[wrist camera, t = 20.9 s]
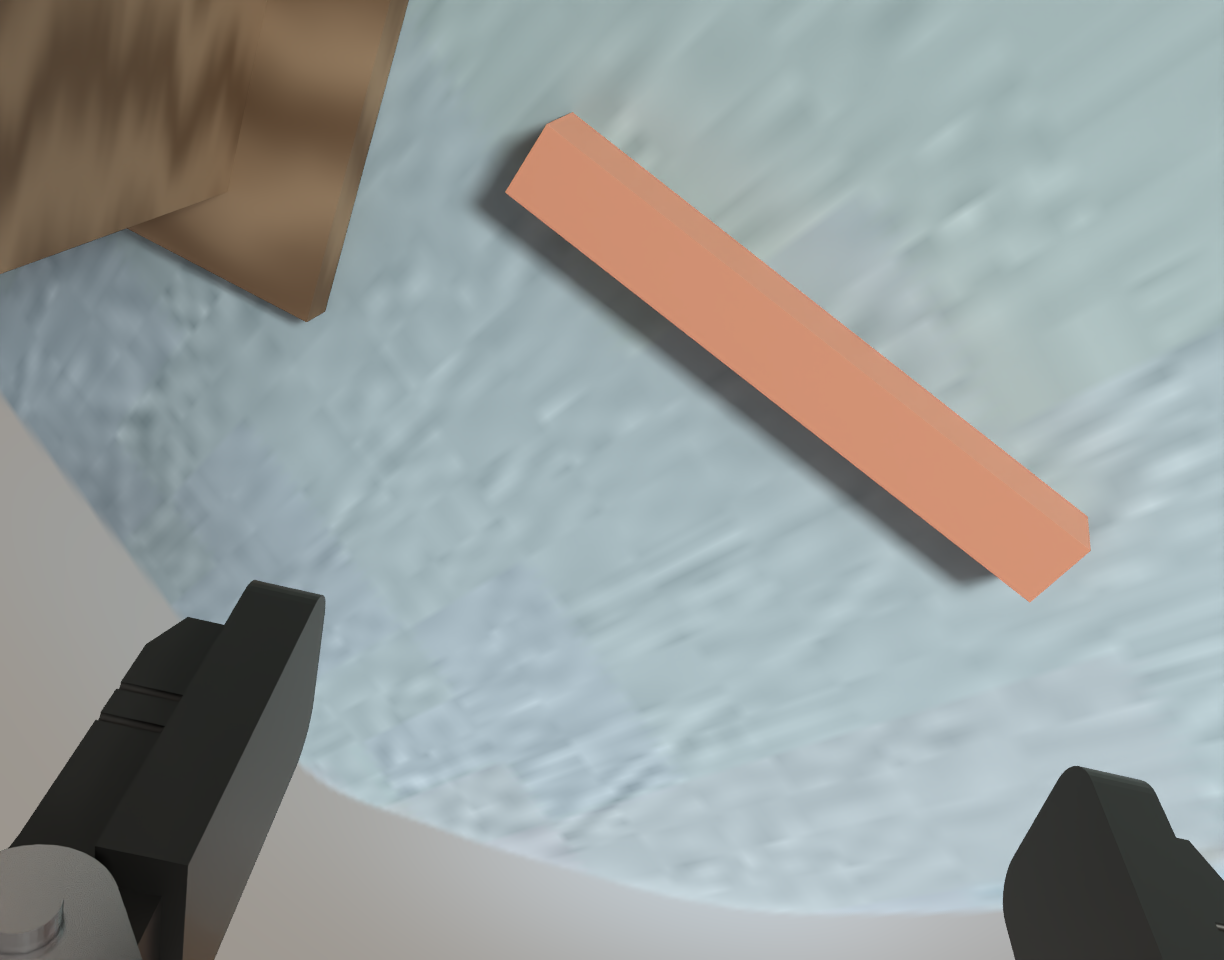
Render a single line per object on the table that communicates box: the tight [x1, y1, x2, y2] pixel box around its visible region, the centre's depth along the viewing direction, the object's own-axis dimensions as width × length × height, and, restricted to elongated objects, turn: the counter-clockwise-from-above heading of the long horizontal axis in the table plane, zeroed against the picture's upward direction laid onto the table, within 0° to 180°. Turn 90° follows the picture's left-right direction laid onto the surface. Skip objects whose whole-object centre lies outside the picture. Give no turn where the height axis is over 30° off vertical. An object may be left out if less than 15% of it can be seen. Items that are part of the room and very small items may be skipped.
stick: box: [505, 112, 1091, 602], centre depth 46 cm, size 3×26×3 cm, turn 56°
